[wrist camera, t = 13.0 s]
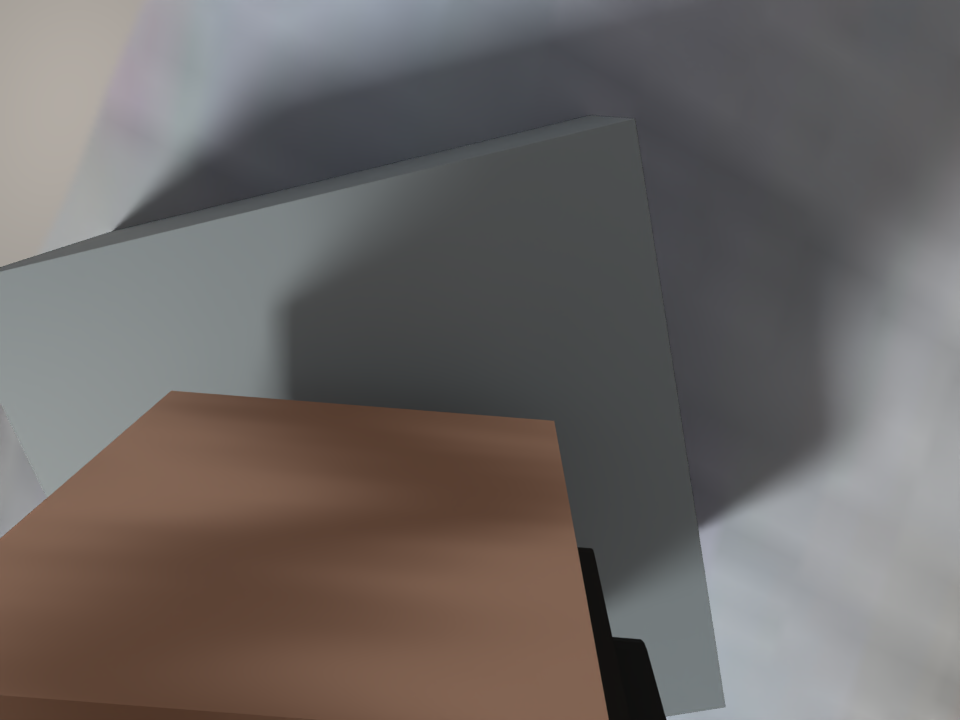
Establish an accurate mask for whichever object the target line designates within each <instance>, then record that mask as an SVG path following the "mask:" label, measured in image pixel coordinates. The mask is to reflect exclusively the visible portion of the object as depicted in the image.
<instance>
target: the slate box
mask: <svg viewBox="0 0 960 720" xmlns="http://www.w3.org/2000/svg"><path fill="white" fill-rule="evenodd" d="M170 391H182V392H195V393H208V394H220V395H233V396H246V397H258V398H271V399H284V400H296V401H309V402H322V403H335V404H347V405H360V406H373V407H385V408H398V409H411V410H423V411H436V412H449V413H461V414H474V415H487V416H500V417H512V418H525V419H538V420H550V421H554V422H555V428H556V433H557V439H558V444H559V450H560V455H561V461H562V466H563V472H564V477H565V483H566V488H567V494H568V499H569V505H570V510H571V516H572V521H573V527H574V532H575V538H576V543H577V547H583V548H592V549H593V551H594V554H595V559H596V563H597V568H598V573H599V577H600V582H601V586H602V591H603V596H604V600H605V605H606V609H607V614H608V619H609V623H610V628H611V633H612V637H620V638H633V639H641V640H642V641H643V642H644V643H645V646H646V648H647V651H648V655H649V658H650V662H651V666H652V669H653V673H654V676H655V680H656V684H657V687H658V691H659V695H660V698H661V702H662V705H663V709H664V713H665V716H672V715H679V714H685V713H691V712H698V711H704V710H710V709H717V708H723V707H725V701H724V694H723V688H722V681H721V675H720V668H719V662H718V655H717V649H716V642H715V636H714V629H713V623H712V616H711V610H710V603H709V596H708V590H707V583H706V577H705V570H704V564H703V557H702V551H701V544H700V538H699V531H698V525H697V518H696V512H695V505H694V499H693V492H692V486H691V479H690V473H689V466H688V460H687V453H686V447H685V440H684V434H683V427H682V421H681V414H680V408H679V401H678V395H677V388H676V382H675V375H674V369H673V362H672V356H671V349H670V343H669V336H668V330H667V323H666V317H665V310H664V304H663V297H662V291H661V284H660V278H659V271H658V265H657V258H656V252H655V245H654V239H653V232H652V226H651V219H650V213H649V206H648V200H647V193H646V187H645V180H644V174H643V167H642V161H641V154H640V148H639V141H638V134H637V128H636V121H635V119H633V118H620V117H607V116H594V115H589V116H585V117H581V118H577V119H573V120H568V121H564V122H560V123H556V124H552V125H548V126H544V127H540V128H536V129H531V130H527V131H523V132H519V133H515V134H511V135H507V136H503V137H499V138H494V139H490V140H486V141H482V142H478V143H474V144H470V145H466V146H462V147H457V148H453V149H449V150H445V151H441V152H437V153H433V154H429V155H424V156H420V157H416V158H412V159H408V160H404V161H400V162H396V163H392V164H387V165H383V166H379V167H375V168H371V169H367V170H363V171H359V172H355V173H350V174H346V175H342V176H338V177H334V178H330V179H326V180H322V181H318V182H313V183H309V184H305V185H301V186H297V187H293V188H289V189H285V190H281V191H276V192H272V193H268V194H264V195H260V196H256V197H252V198H248V199H244V200H239V201H235V202H231V203H227V204H223V205H219V206H215V207H211V208H207V209H202V210H198V211H194V212H190V213H186V214H182V215H178V216H174V217H169V218H165V219H161V220H157V221H153V222H149V223H145V224H141V225H137V226H132V227H128V228H124V229H120V230H116V231H112V232H109V233H106V234H102V235H99V236H96V237H93V238H90V239H87V240H84V241H81V242H77V243H74V244H71V245H68V246H65V247H62V248H59V249H56V250H52V251H49V252H46V253H43V254H40V255H37V256H34V257H31V258H27V259H24V260H21V261H18V262H15V263H12V264H9V265H6V266H3V267H0V404H1V406H2V408H3V410H4V412H5V414H6V416H7V418H8V420H9V422H10V424H11V426H12V428H13V430H14V432H15V434H16V436H17V438H18V440H19V442H20V444H21V447H22V449H23V451H24V453H25V455H26V457H27V459H28V461H29V463H30V465H31V467H32V469H33V471H34V473H35V475H36V477H37V479H38V481H39V483H40V485H41V487H42V489H43V491H44V493H45V495H46V497H47V498H48V497H49V496H50V495H51V494H52V493H53V492H55V491H56V490H57V489H58V488H59V487H60V486H62V485H63V484H64V483H65V482H66V481H67V480H68V479H70V478H71V477H72V476H73V475H74V474H75V473H77V472H78V471H79V470H80V469H81V468H82V467H83V466H85V465H86V464H87V463H88V462H89V461H90V460H92V459H93V458H94V457H95V456H96V455H97V454H99V453H100V452H101V451H102V450H103V449H104V448H105V447H107V446H108V445H109V444H110V443H111V442H112V441H114V440H115V439H116V438H117V437H118V436H119V435H120V434H122V433H123V432H124V431H125V430H126V429H127V428H129V427H130V426H131V425H132V424H133V423H134V422H135V421H137V420H138V419H139V418H140V417H141V416H142V415H144V414H145V413H146V412H147V411H148V410H149V409H151V408H152V407H153V406H154V405H155V404H156V403H157V402H159V401H160V400H161V399H162V398H163V397H164V396H166V395H167V394H168V393H169V392H170Z"/></svg>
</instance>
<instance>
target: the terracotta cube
mask: <svg viewBox="0 0 960 720" xmlns="http://www.w3.org/2000/svg"><path fill="white" fill-rule="evenodd" d="M0 720H609V718H608V713H607V707H606V702H605V696H604V691H603V685H602V680H601V675H600V669H599V664H598V658H597V653H596V647H595V642H594V636H593V631H592V625H591V620H590V614H589V609H588V603H587V598H586V592H585V587H584V581H583V576H582V570H581V565H580V559H579V554H578V548H577V543H576V538H575V532H574V527H573V521H572V516H571V510H570V505H569V499H568V494H567V488H566V483H565V477H564V472H563V466H562V461H561V455H560V450H559V444H558V439H557V433H556V428H555V422H554V421H550V420H538V419H525V418H512V417H500V416H487V415H474V414H461V413H449V412H436V411H423V410H411V409H398V408H385V407H373V406H360V405H347V404H335V403H322V402H309V401H296V400H284V399H271V398H258V397H246V396H233V395H220V394H208V393H195V392H182V391H170V392H169V393H168V394H167V395H166V396H164V397H163V398H162V399H161V400H160V401H159V402H157V403H156V404H155V405H154V406H153V407H152V408H151V409H149V410H148V411H147V412H146V413H145V414H144V415H142V416H141V417H140V418H139V419H138V420H137V421H135V422H134V423H133V424H132V425H131V426H130V427H129V428H127V429H126V430H125V431H124V432H123V433H122V434H120V435H119V436H118V437H117V438H116V439H115V440H114V441H112V442H111V443H110V444H109V445H108V446H107V447H105V448H104V449H103V450H102V451H101V452H100V453H99V454H97V455H96V456H95V457H94V458H93V459H92V460H90V461H89V462H88V463H87V464H86V465H85V466H83V467H82V468H81V469H80V470H79V471H78V472H77V473H75V474H74V475H73V476H72V477H71V478H70V479H68V480H67V481H66V482H65V483H64V484H63V485H62V486H60V487H59V488H58V489H57V490H56V491H55V492H53V493H52V494H51V495H50V496H49V497H48V498H47V499H45V500H44V501H43V502H42V503H41V504H40V505H38V506H37V507H36V508H35V509H34V510H33V511H31V512H30V513H29V514H28V515H27V516H26V517H25V518H23V519H22V520H21V521H20V522H19V523H18V524H16V525H15V526H14V527H13V528H12V529H11V530H10V531H8V532H7V533H6V534H5V535H4V536H3V537H1V538H0Z"/></svg>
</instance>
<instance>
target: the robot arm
mask: <svg viewBox="0 0 960 720" xmlns="http://www.w3.org/2000/svg"><path fill="white" fill-rule="evenodd" d="M577 548H578V554H579V559H580V565H581V570H582V576H583V581H584V587H585V592H586V598H587V603H588V609H589V614H590V620H591V625H592V631H593V636H594V642H595V647H596V653H597V658H598V664H599V669H600V675H601V680H602V685H603V691H604V696H605V702H606V707H607V713H608V718H609V720H666V716H665V713H664V709H663V705H662V702H661V698H660V695H659V691H658V687H657V684H656V680H655V676H654V673H653V669H652V666H651V662H650V658H649V655H648V651H647V648H646V646H645V643H644V642H643V641H642V640H641V639H633V638H620V637H612V633H611V628H610V623H609V619H608V614H607V609H606V605H605V600H604V596H603V591H602V586H601V582H600V577H599V573H598V568H597V563H596V559H595V554H594V551H593V549H592V548H583V547H577Z"/></svg>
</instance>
